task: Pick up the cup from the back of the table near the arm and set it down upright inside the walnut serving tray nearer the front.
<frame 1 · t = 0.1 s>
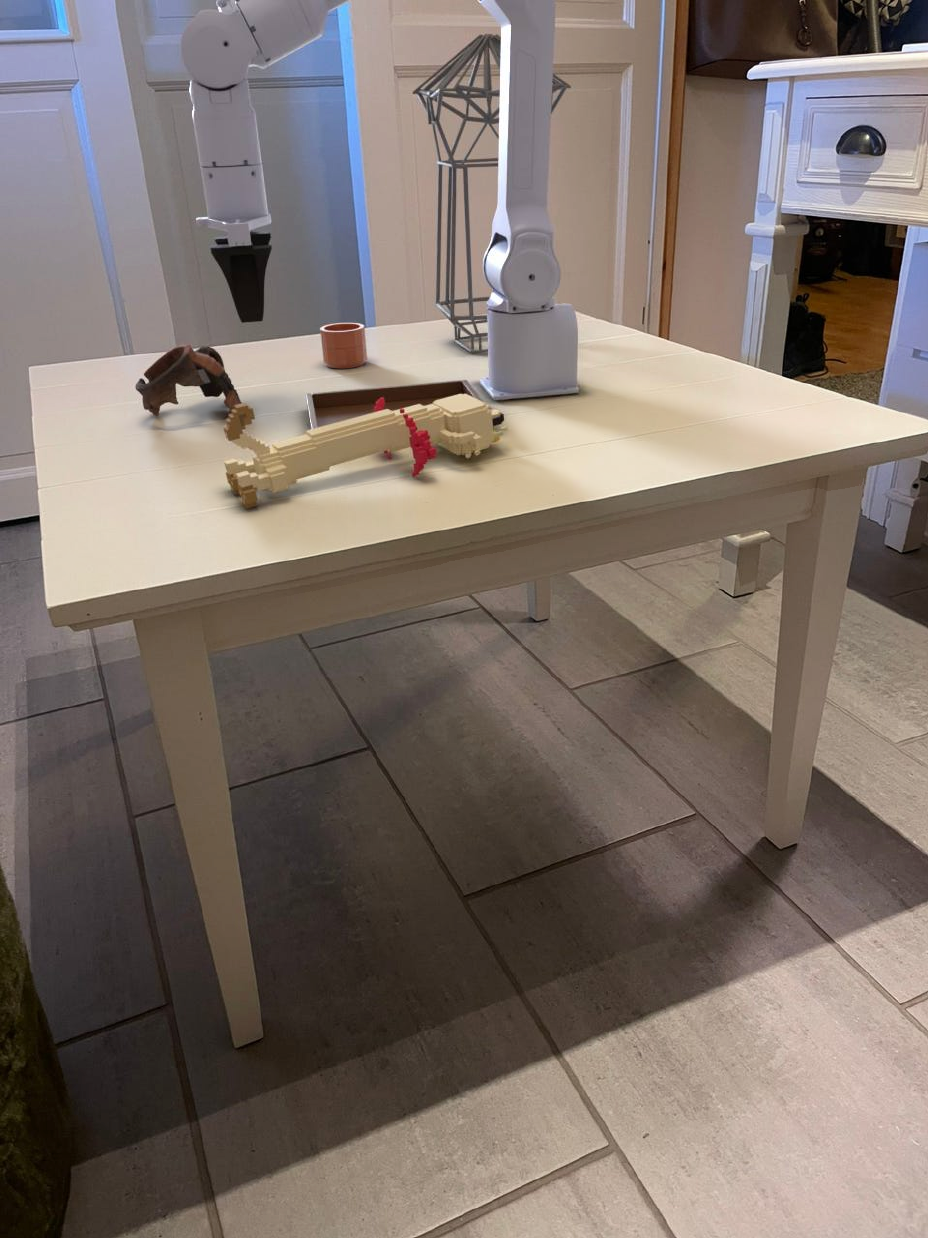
hand: (252, 314, 95), 10 cm above the table, tool pointing down, fingers open, 7 cm apart
broken pottery shard: (200, 414, 100), on the table
cat figure: (377, 473, 82), on the table
tray: (396, 422, 95), on the table
geometric lantern: (494, 346, 124), on the table
cup: (345, 363, 118), on the table
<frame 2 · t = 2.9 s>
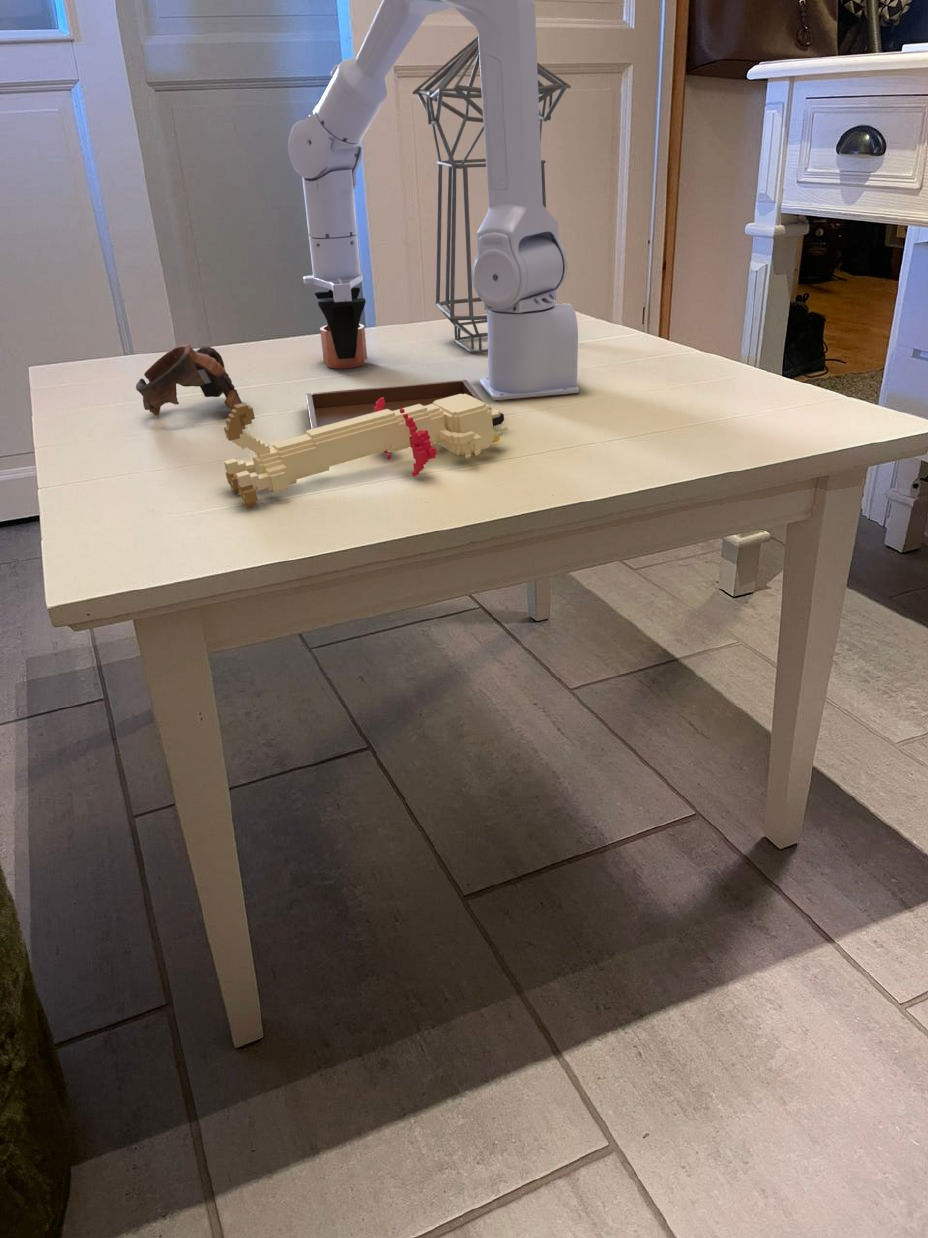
hand: (344, 352, 117), 1 cm above the table, tool pointing down, fingers closed on cup, 5 cm apart
cup: (345, 363, 118), on the table, touching gripper
everything else where it was.
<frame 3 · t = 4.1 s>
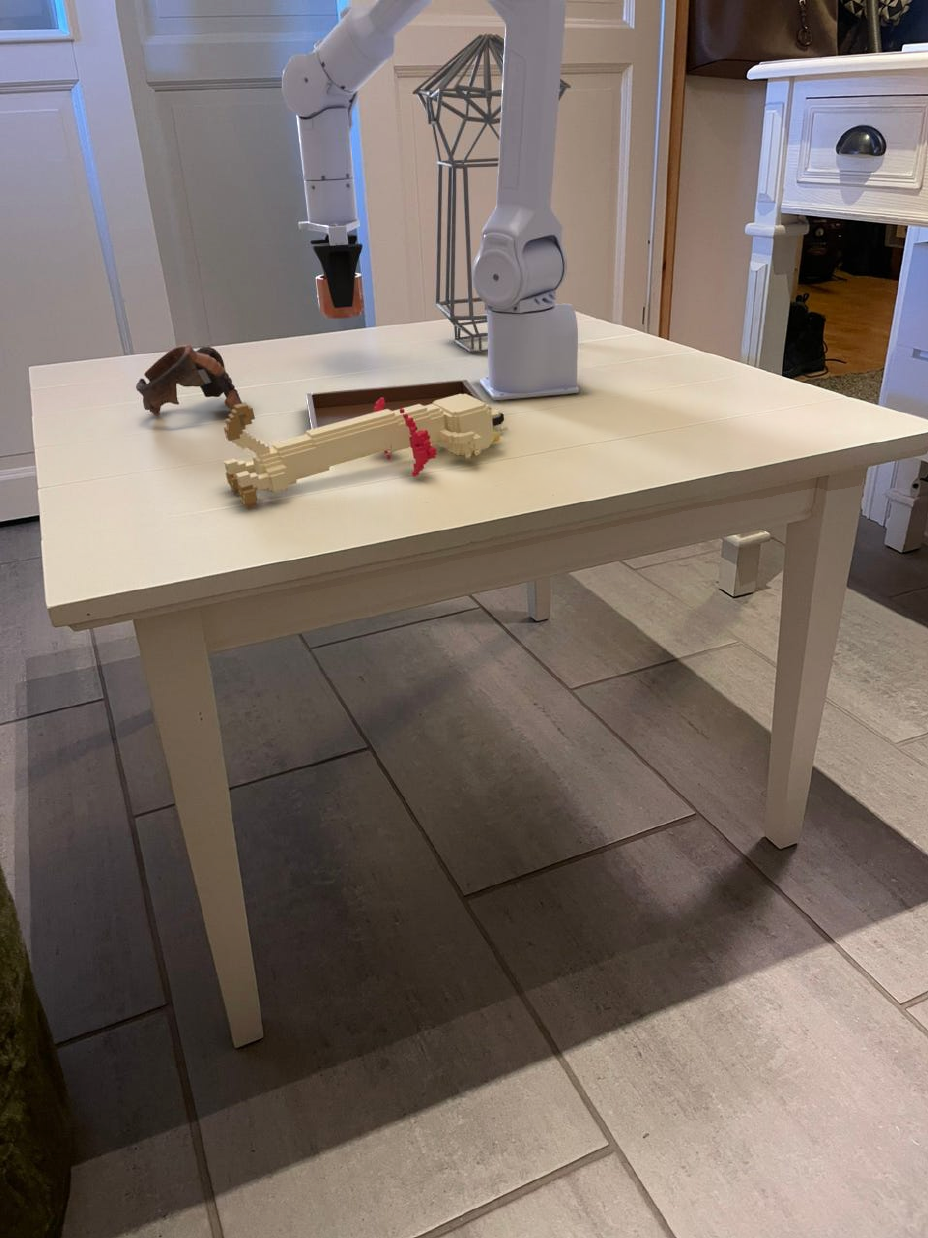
hand: (341, 302, 113), 8 cm above the table, tool pointing down, fingers closed on cup, 5 cm apart
cup: (342, 314, 114), point 6 cm above the table, touching gripper
everything else where it was.
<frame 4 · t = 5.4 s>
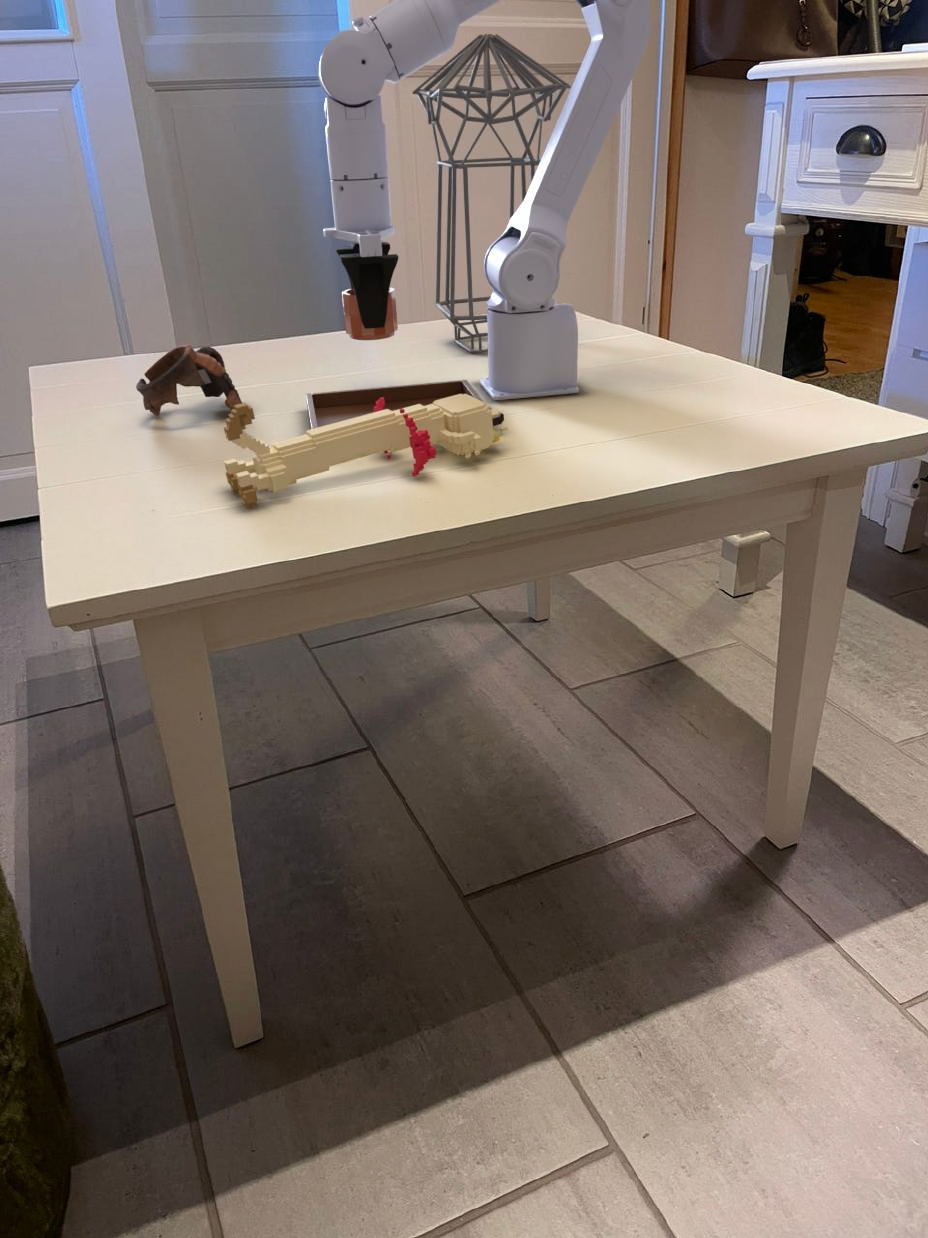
hand: (371, 321, 98), 8 cm above the table, tool pointing down, fingers closed on cup, 5 cm apart
cup: (372, 335, 99), point 7 cm above the table, touching gripper
everything else where it was.
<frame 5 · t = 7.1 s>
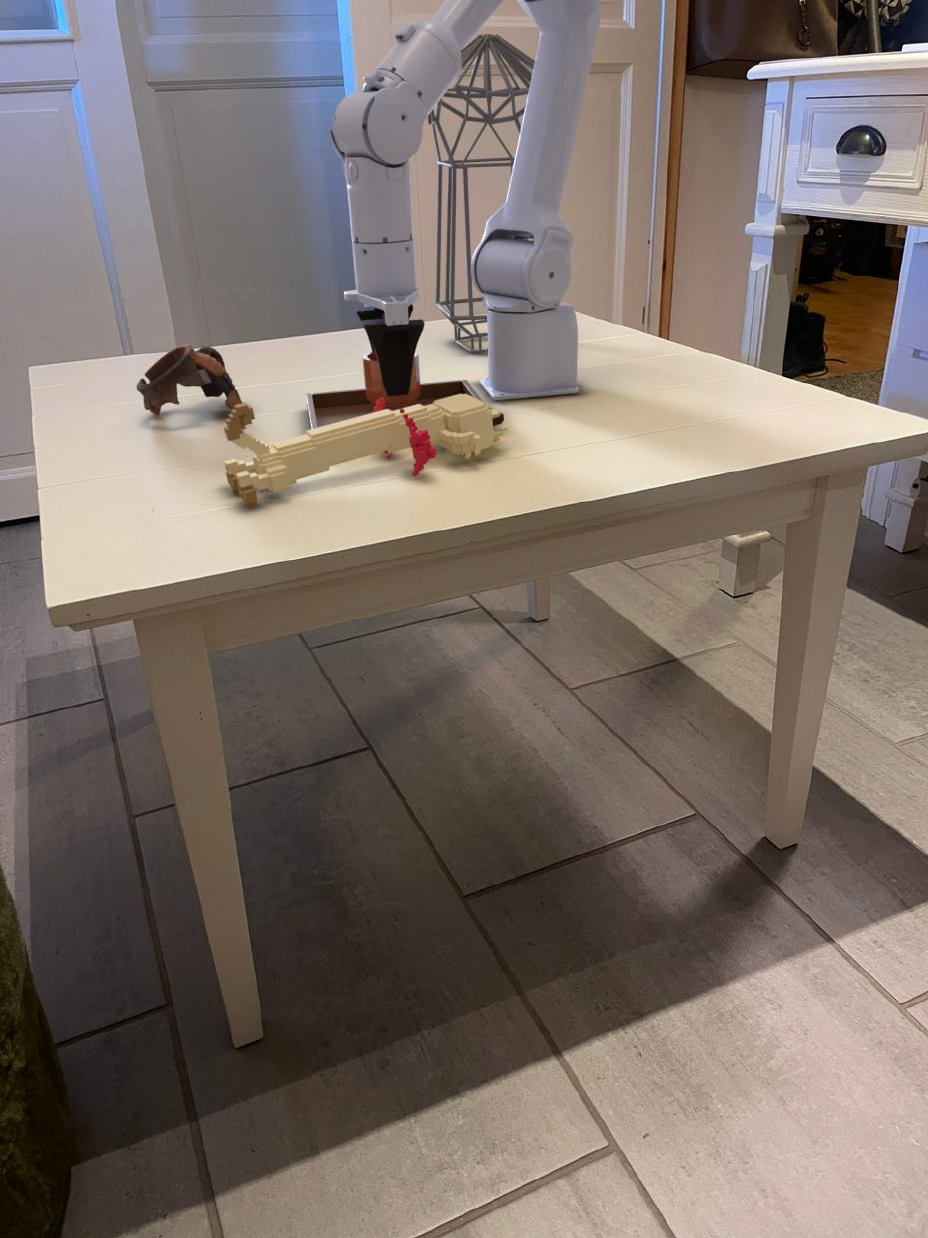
hand: (393, 386, 93), 4 cm above the table, tool pointing down, fingers closed on cup, 5 cm apart
cup: (393, 400, 93), point 2 cm above the table, touching gripper
everything else where it was.
when the fingers open (2 cm above the table, at t = 8.3 s): cup stays where it is, resting on tray.
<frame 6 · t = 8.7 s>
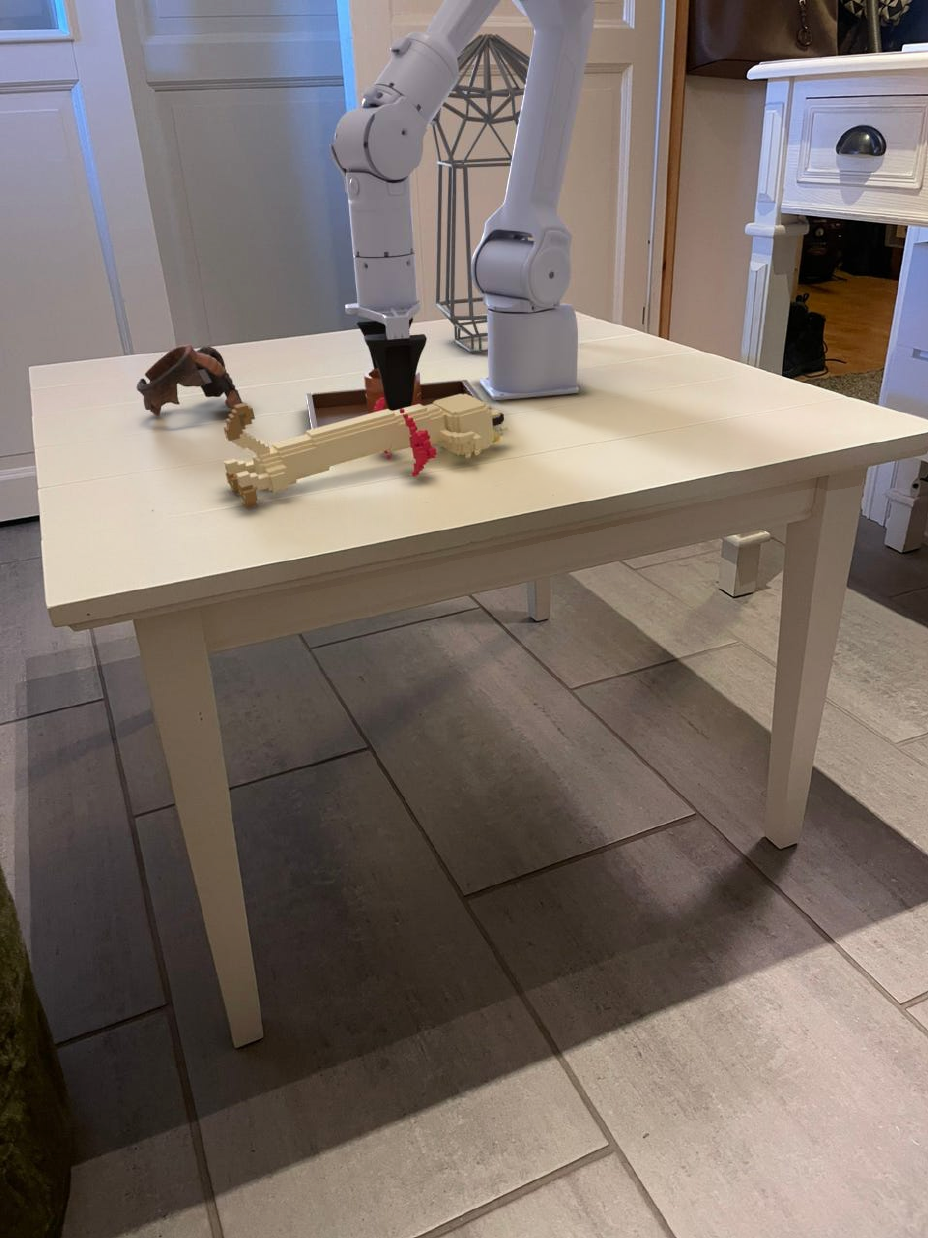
hand: (394, 398, 93), 2 cm above the table, tool pointing down, fingers open, 7 cm apart
cup: (394, 417, 94), resting on tray
everything else where it was.
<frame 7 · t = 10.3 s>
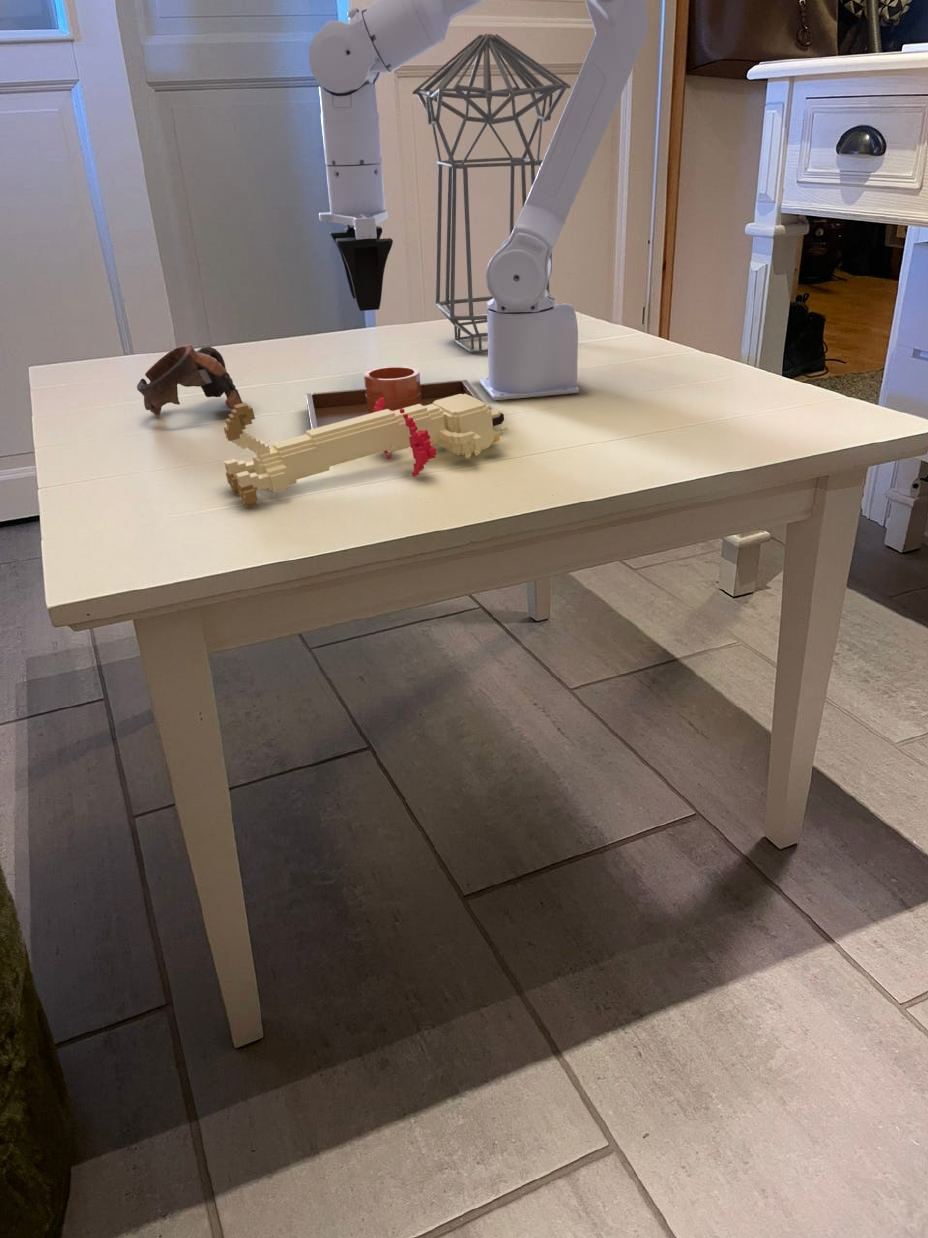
hand: (365, 303, 102), 9 cm above the table, tool pointing down, fingers open, 7 cm apart
nothing on the table moved.
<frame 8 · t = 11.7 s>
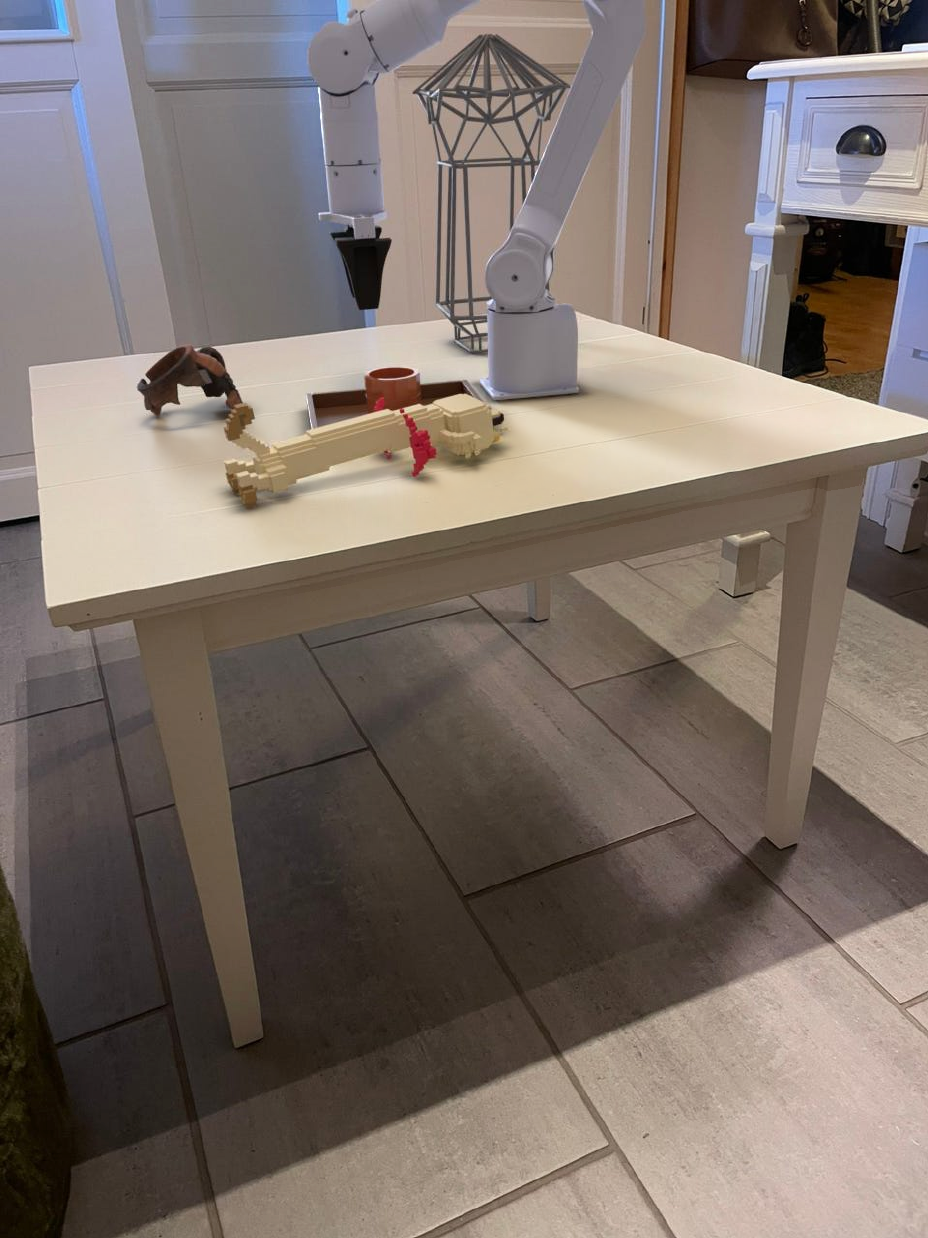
hand: (365, 302, 102), 9 cm above the table, tool pointing down, fingers open, 7 cm apart
nothing on the table moved.
at the end: cup inside the target area in the tray (0.1 cm from its centre), point 0.5 cm above the tray's base; cup tilted 0°; the gripper is holding nothing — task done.
